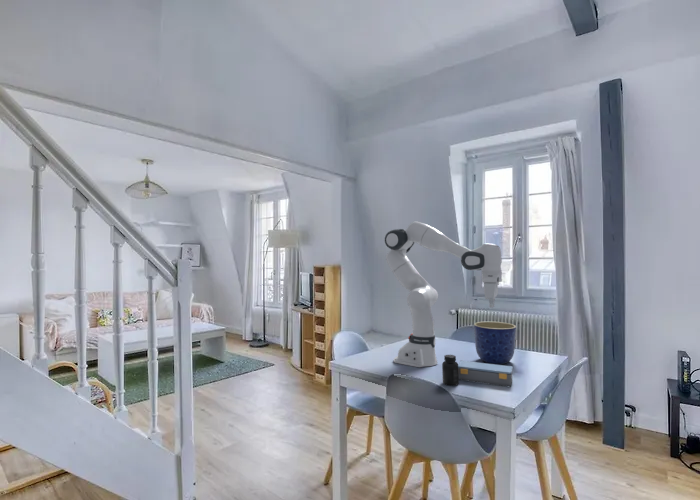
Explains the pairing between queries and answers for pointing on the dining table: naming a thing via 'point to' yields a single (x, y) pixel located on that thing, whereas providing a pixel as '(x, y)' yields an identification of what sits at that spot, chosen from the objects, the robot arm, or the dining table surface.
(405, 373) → the dining table surface
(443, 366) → the supplement bottle
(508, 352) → the planter
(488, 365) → the cover
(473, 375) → the grey rectangular open box
